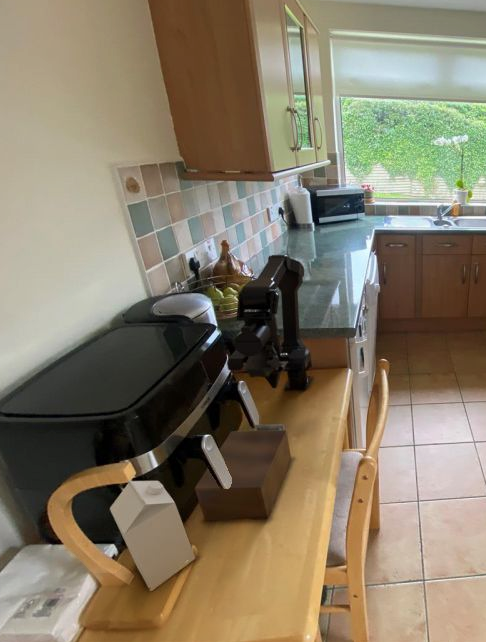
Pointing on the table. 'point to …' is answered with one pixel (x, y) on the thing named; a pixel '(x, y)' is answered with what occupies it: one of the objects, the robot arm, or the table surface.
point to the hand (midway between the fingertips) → (275, 387)
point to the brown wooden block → (247, 476)
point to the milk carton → (152, 531)
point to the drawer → (269, 427)
